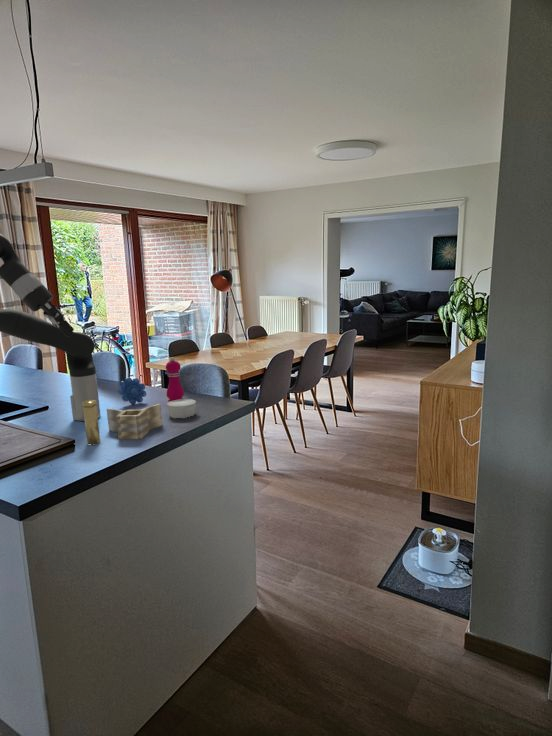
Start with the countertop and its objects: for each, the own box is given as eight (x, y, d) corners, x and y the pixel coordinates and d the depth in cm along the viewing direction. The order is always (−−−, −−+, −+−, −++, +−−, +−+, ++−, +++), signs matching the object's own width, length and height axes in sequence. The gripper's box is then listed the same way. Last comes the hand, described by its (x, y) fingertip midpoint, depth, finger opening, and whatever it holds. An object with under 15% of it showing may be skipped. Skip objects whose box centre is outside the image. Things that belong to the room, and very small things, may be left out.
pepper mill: (176, 406, 197) (172, 359, 193) (163, 405, 201) (159, 358, 197) (188, 402, 203) (184, 356, 199) (175, 400, 207) (172, 355, 203)
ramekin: (186, 409, 192) (185, 397, 191) (203, 414, 184) (202, 401, 183) (162, 416, 185) (161, 403, 184) (178, 421, 177) (177, 407, 176)
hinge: (97, 439, 160) (94, 416, 158) (114, 425, 174) (112, 404, 173) (149, 438, 158) (147, 415, 157) (162, 424, 173) (161, 403, 172)
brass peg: (84, 445, 154) (79, 403, 152) (90, 440, 159) (85, 400, 156) (97, 445, 154) (92, 403, 152) (103, 440, 159) (98, 399, 156)
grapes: (122, 408, 197) (119, 380, 195) (118, 405, 203) (115, 377, 200) (150, 404, 203) (147, 376, 201) (145, 400, 209) (143, 374, 206)
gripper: (23, 304, 148) (61, 343, 152) (19, 295, 135) (60, 338, 139) (43, 289, 150) (80, 328, 154) (41, 279, 137) (81, 322, 141)
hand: (71, 333), depth 146 cm, fingers open, 8 cm apart
